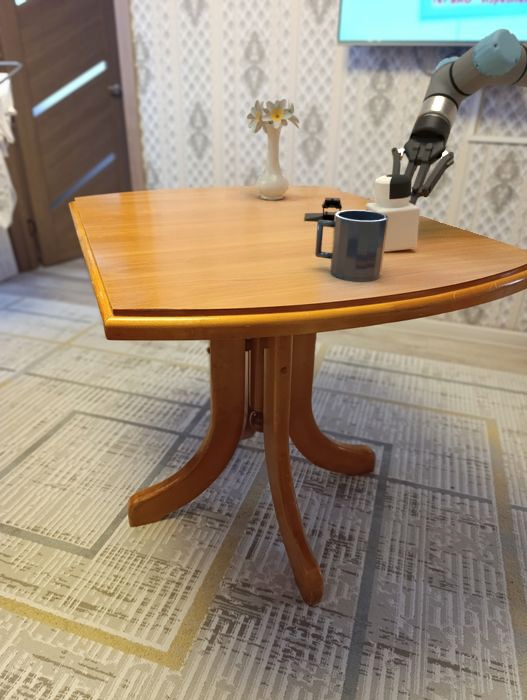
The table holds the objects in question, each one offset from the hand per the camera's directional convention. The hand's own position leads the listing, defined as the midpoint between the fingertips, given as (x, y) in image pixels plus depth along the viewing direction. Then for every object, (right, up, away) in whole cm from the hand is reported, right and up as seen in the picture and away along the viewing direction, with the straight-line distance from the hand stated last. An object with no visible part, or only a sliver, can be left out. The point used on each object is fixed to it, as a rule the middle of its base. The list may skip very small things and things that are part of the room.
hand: (398, 222), depth 101 cm
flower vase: (-25, +17, +42) cm, 52 cm away
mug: (-13, -12, -16) cm, 24 cm away
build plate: (-11, +6, +20) cm, 24 cm away
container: (-2, -5, -2) cm, 6 cm away
